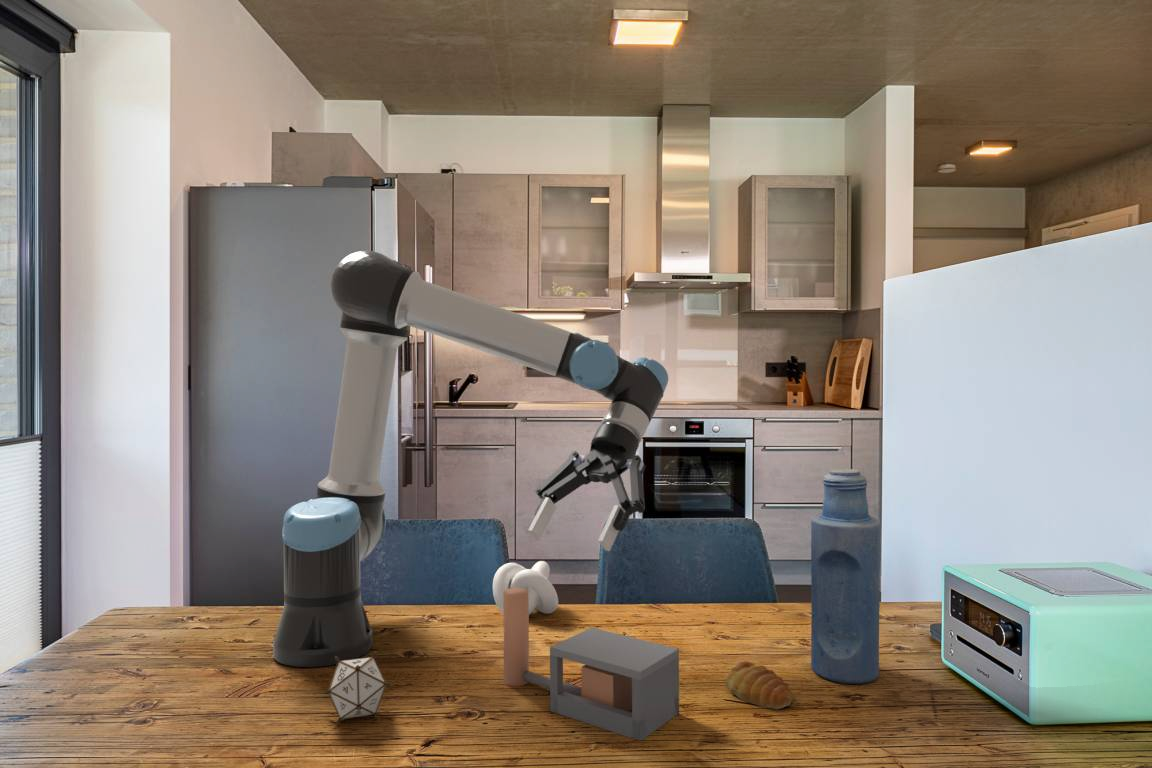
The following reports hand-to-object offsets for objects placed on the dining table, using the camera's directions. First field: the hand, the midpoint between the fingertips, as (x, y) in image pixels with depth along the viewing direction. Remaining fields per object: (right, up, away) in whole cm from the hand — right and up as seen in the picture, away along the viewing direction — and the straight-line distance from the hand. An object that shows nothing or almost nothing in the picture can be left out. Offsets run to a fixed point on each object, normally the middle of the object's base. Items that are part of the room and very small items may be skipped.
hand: (567, 540), depth 122 cm
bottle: (+41, -18, -6) cm, 45 cm away
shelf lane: (+6, -19, -19) cm, 27 cm away
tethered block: (-1, -19, -14) cm, 23 cm away
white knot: (-7, -18, +23) cm, 30 cm away
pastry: (+27, -19, -13) cm, 35 cm away
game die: (-27, -19, -20) cm, 39 cm away
